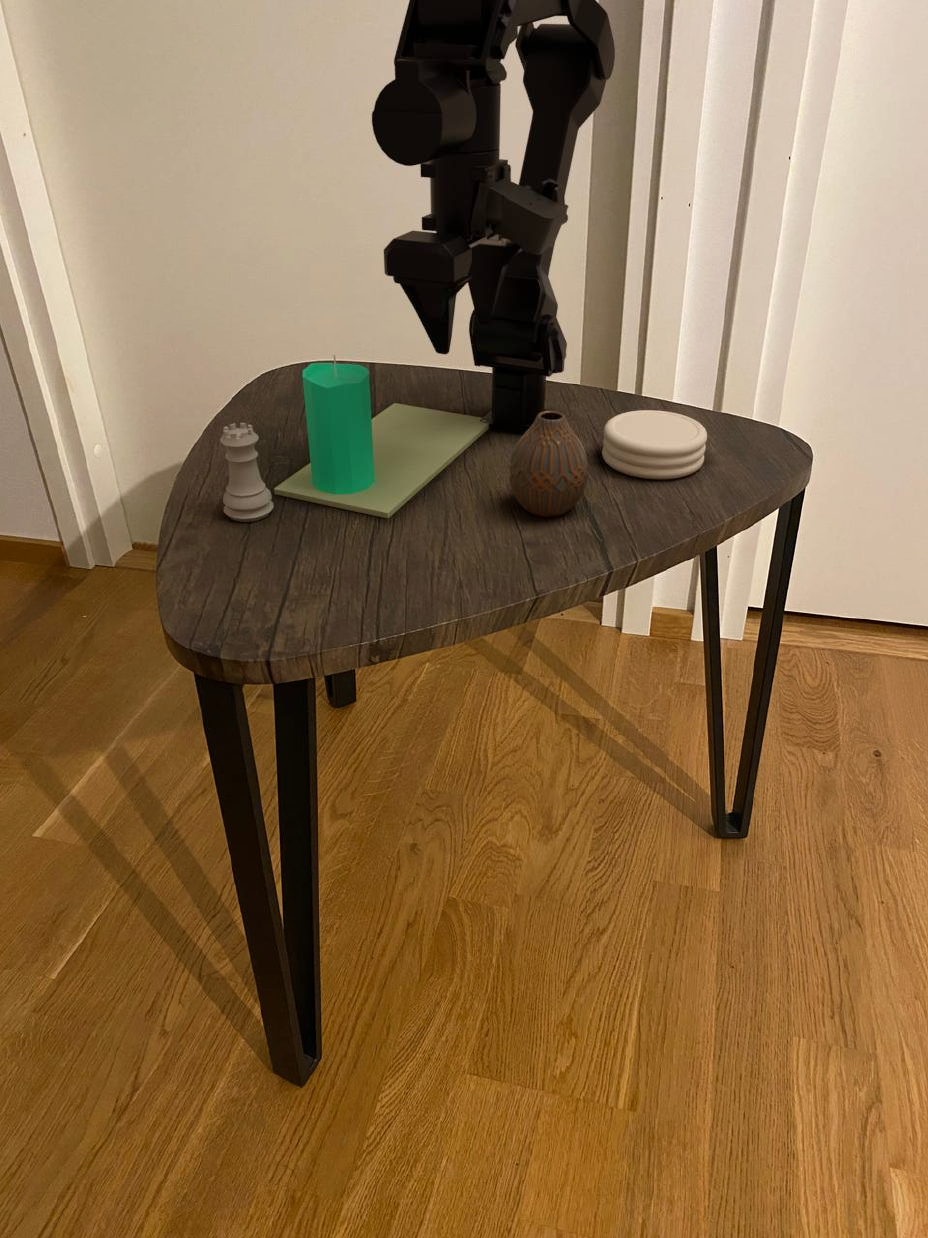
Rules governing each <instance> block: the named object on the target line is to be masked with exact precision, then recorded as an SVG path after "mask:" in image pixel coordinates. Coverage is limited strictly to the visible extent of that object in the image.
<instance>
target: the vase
mask: <svg viewBox="0 0 928 1238" xmlns="http://www.w3.org/2000/svg"><path fill="white" fill-rule="evenodd" d="M588 471H589V466H588V458H587V454H586V450H585V447H584V445H583V443H582V441H581V440H580V438H579V436H577V434H576V433H575V431H574V430H573V429H572V428H571V426H570V424H569V422H568V420H567V416H566V414H564V412H561V411H559V410H554V411H543V412H540V413H539V414H538V415H537V417H536V419H535V421H534V423H533V424H532V426H531V427H530V428H529V429H528V430H527V431H526V432H525V433H522V435H521V437H520V438H519V439H518V440H517V442H516V443H515V446H514V448H513V450H512V454H511V458H510V461H509V483H510V488H511V490H512V494H513V496H514V498H515V499H516V501H517V502H518V503H519V505H520V506H521V507H522V508H523V509H525V510H526V511H527V512H528V513H530V514H532V515H534V516H539V517H549V518H550V517H558V516H561V515H564V514H566V513H567V512H569V510H571V509H573V508H574V506H575V505H576V504H577V503H578V502H579V501H580V500H581V497H582V496H583V493H584V492H585V488H586V485H587V482H588V474H589V473H588Z"/></svg>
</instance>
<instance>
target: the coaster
mask: <svg viewBox="0 0 928 1238" xmlns="http://www.w3.org/2000/svg"><path fill="white" fill-rule="evenodd" d="M603 435H604V436H603V440H602V446H603V447H602V449H601V455H602V458H603V460H604V462H605V463H606V464H607V465H608V466H609V467H610V468H612V469H614V470H615V471H617V472H619V473H621V474H624V475H628V476H630V477H635V478H640V479H647V480H674V479H680V478H685V477H687V476H690V475H692V474H694V473H696V472H697V471H698V470H699V469H700V468H702V466H703V465H704V461H705V452H706V449H707V447H706V443H707V440H708V432H707V430H706V428H705V427H704V426H703V425H702V423H700V422H699V421H698V420H697V419H694V418H692V417H690V416H686V415H684V414H680V413H677V412H671V411H666V410H655V409H649V410H648V409H644V410H643V409H642V410H631V411H627V412H623V413H620V414H617V415H615V416H613V417H612V418H610V419H609V420H608V421H607V422H606V423H605V426H604V428H603Z"/></svg>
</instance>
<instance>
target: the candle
mask: <svg viewBox="0 0 928 1238" xmlns="http://www.w3.org/2000/svg"><path fill="white" fill-rule="evenodd" d="M301 377H302V386H303V397H304V408H305V417H306V418H305V419H306V429H307V439H308V447H309V448H308V450H309V459H310V460H309V461H310V463H311V472H312V483H313V486H314V487H315V488H317V489H318V490H320V491H321V492H326V493H331V494H353V493H356V492H360V491H363V490H366V489H368V488H369V487H370V486H372V485H373V484H374V483H375V472H374V454H373V437H372V419H373V418H372V404H371V403H372V402H371V387H370V385H371V384H370V383H371V382H370V370H369V368H367V367H366V366H363V365H361V364H354V363H337V360H336V354H333V362H314V363H310V364H309V365H308V366H306V367H305V368H304V369H303V370H302V376H301Z"/></svg>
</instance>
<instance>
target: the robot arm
mask: <svg viewBox="0 0 928 1238" xmlns="http://www.w3.org/2000/svg"><path fill="white" fill-rule="evenodd" d="M405 12H406V13H405V16H404V20H403V23H402V28H401V31H400V36H399V39H398V42H397V47H396V50H395V54H394V57H393V65H394V79H392V80H391V81H390V82H388V83H387V84H385V85H384V87H383V88H382V89H381V90H380V92H379V94H378V95H377V97H376V100H375V103H374V107H373V111H371V126H372V132H373V135H374V137H375V140H376V143H377V145H378V146H379V148H380V150H381V151H382V152H383V154H385V155H386V157H387V158H388V159H389V160H391V161H393V162H395V163H396V164H399V165H402V166H406V167H413V166H417V165H420V178H427V179H429V186H430V188H429V190H430V193H429V194H430V195H429V196H430V197H429V198H430V213H428V214H426V215H424V216H422V217H421V230H410V231H408V232H406V233H404V234H401V235H398V236H397V237H394V238H392V240H390V242H389V243H388V244H387V245H386V247H384V248H383V267H384V268H383V271H384V274H385V276H387V277H392V280H393V282H394V283H395V284H398V285H400V287H401V289H402V291H403V292H404V294H405V296H406V297H407V298H408V301H409V302H410V304H411V306H412V307H413V309H414V311H415V313H416V315H417V317H418V319H419V321H420V323H421V325H422V327H423V329H424V331H425V333H426V335H427V337H428V339H429V341H430V343H431V345H432V347H433V349H434V351H435V353H436V354H439V355H448V354H449V353H450V350H451V344H452V337H453V328H454V320H455V310H456V302H457V295H458V294H459V292H460V291H461V290H462V289H463V288H464V287H465V286H466V285H468V290H469V293H470V297H471V298H470V299H471V301H472V305H473V310H472V312H471V314H470V318H469V323H468V334H469V335H468V336H469V341H470V347H471V352H472V359H473V364H474V366H475V367H485V368H491V370H492V371H491V410H490V411H489V412H487V413H486V414H485V415H484V416H483V417H481V418H482V419H481V420H480V422H481V421H482V420H483V418H484V419H485V418H486V419H485V420H486V422H485V423H488V424H489V427H490V428H492V429H497V430H502V431H503V430H504V431H508V432H509V431H510V432H516V433H520V434H521V433H522V434H524V433H525V432H526V431H527V430H528V429H529V428H530V427H531V426H532V424H533V423H534V421H535V419H536V417H537V415H538V414H539V413H540V412H543V411H555V409H550V408H546V388H547V377H548V378H550V377H551V376H552V375H554V374H561V373H563V372H564V371H565V361H566V358H567V348H568V342H567V340H566V337H565V334H564V332H563V330H562V328H561V325H560V323H559V320H558V317H557V316H558V309H559V303H558V301H557V298H556V295H555V292H554V290H553V286H552V284H551V279H550V278H549V275H550V269H551V265H552V264H551V263H552V261H553V260H552V259H553V255H554V248H555V245H556V241H557V238H558V236H559V234H560V230H561V228H562V226H563V225H565V224H566V223H567V222H568V220H569V215H568V213H567V212H568V209H569V205H568V204H567V203H566V198H565V197H566V193H567V188H568V187H567V186H568V183H569V176H570V173H571V167H572V162H573V158H574V153H575V148H576V143H577V139H578V133H579V130H580V128H581V127H582V126H583V125H584V124H585V122H586V121H587V120H588V119H589V118H590V117H591V116H592V114H593V113H594V112H595V111H596V109H597V108H598V107H600V105H601V102H602V99H603V95H604V92H605V88H606V84H607V80H610V78H611V77H612V74H613V71H614V66H615V58H616V47H615V41H614V37H613V36H614V35H613V31H612V27H611V23H610V19H609V15H608V12H607V11H606V9H604V7H603V6H602V5H601V4H600V3H599V2H598V1H597V0H408V4H407V9H406V11H405ZM553 17H566V19H567V22H568V23H540V24H539V25H538V26H537V27H535V24H534V23H536V22H540V21H543V20H546V19H550V18H553ZM513 42H515V43H514V47H515V50H516V51H517V55H518V59H519V61H520V63H521V66H522V69H523V76H522V84H523V87H524V89H525V93H526V95H527V98H528V101H529V105H530V107H531V110H532V115H531V121H530V126H529V130H528V136H527V140H526V146H525V149H524V150H525V151H524V155H523V160H522V165H521V170H520V176H519V180H518V183H516V182H513V181H512V167H511V166H512V165H511V164H509V159H503V158H500V153H501V151H500V148H501V147H500V146H501V143H500V142H501V93H502V92H501V91H502V90H501V87H502V85H501V82H503V81H506V80H507V77H508V72H507V70H506V68H505V65H503V63H502V60H505V59H506V56H507V53H508V50H509V47H510V46H511V44H512V43H513ZM491 419H492V420H491ZM487 421H488V422H487ZM489 421H490V422H489ZM483 423H484V422H483Z"/></svg>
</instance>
